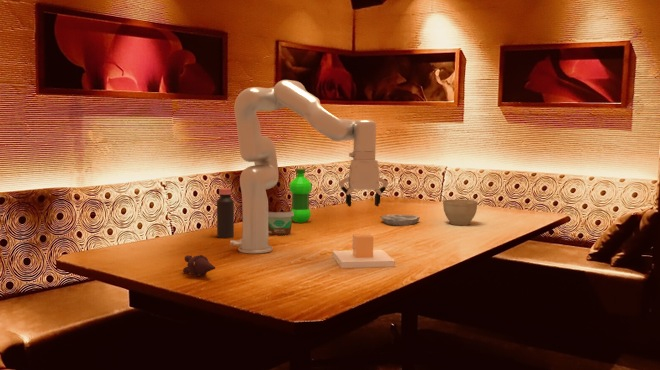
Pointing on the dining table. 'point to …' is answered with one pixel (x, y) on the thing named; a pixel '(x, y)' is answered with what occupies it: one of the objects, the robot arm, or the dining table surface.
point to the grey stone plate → (400, 219)
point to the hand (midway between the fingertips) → (362, 205)
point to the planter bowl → (460, 211)
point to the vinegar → (225, 214)
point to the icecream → (197, 265)
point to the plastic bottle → (300, 197)
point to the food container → (280, 223)
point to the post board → (363, 259)
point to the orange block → (362, 245)
